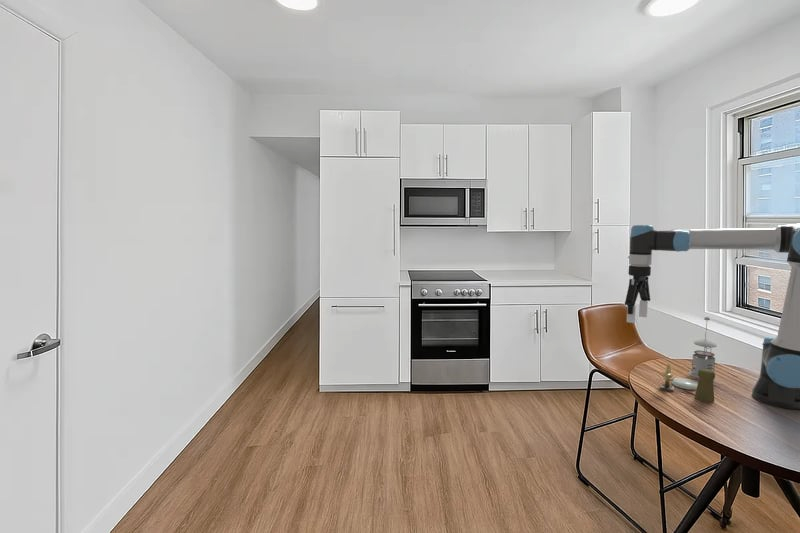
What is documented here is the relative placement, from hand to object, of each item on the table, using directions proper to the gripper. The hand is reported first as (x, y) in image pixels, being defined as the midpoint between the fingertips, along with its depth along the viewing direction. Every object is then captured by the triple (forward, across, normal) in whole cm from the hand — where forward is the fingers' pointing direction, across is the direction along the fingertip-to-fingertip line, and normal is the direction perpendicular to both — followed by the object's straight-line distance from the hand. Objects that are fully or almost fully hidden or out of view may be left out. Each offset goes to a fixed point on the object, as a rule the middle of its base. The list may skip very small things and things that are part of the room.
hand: (636, 319), depth 174 cm
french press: (+27, -33, +16) cm, 46 cm away
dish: (+26, -14, +15) cm, 34 cm away
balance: (+26, -4, +11) cm, 29 cm away
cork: (+27, -4, +23) cm, 35 cm away
